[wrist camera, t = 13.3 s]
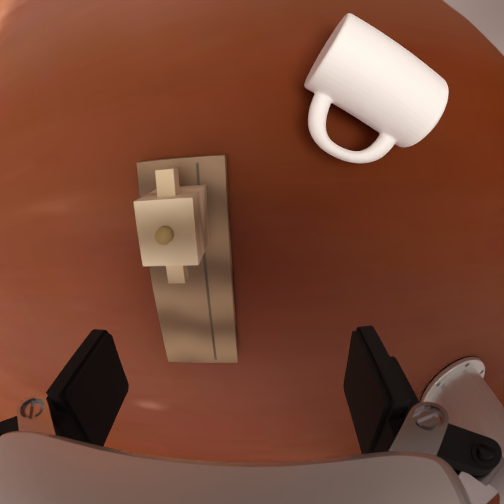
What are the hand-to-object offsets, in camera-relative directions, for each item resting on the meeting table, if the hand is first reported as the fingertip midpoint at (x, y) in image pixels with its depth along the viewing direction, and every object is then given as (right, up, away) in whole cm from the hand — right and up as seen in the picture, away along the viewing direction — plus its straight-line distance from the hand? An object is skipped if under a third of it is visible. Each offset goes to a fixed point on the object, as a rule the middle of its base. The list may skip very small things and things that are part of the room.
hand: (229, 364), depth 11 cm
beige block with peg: (-5, +8, +16) cm, 19 cm away
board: (-5, +3, +20) cm, 21 cm away
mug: (+10, +18, +15) cm, 26 cm away
